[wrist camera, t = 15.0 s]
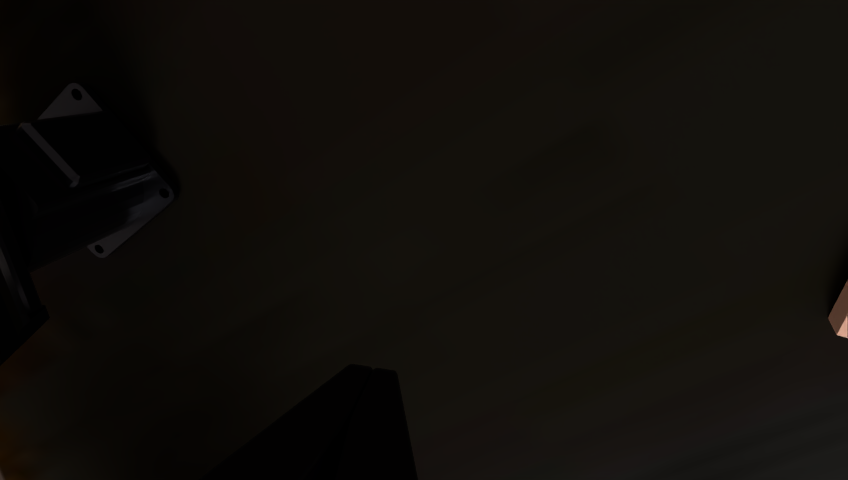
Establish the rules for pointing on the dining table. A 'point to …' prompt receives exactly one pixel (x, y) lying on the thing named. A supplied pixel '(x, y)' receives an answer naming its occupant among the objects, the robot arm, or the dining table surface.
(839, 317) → the domino
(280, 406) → the dining table surface
